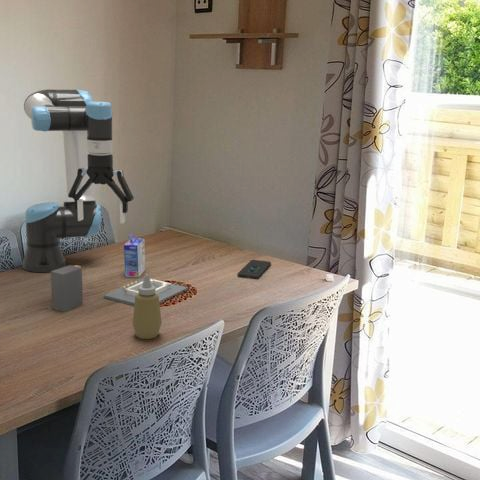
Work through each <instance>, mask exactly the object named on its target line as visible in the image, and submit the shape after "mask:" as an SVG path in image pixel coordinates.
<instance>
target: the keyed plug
mask: <svg viewBox="0 0 480 480" xmlns="http://www.w3.org/2000/svg"><path fill="white" fill-rule="evenodd" d="M82 269H83V268H82V266H81V265H76V264H75V265H72V264H68V265H66V266H65V267H62V268H59V269H56V270H53V271H51V272H50V285H51V286H50V287H51V290H50V291H51V308H52V310H56V311H60V312H63V313H65V312H67V311H70V310H72V309H75V308H78V307H80V306H82V305H83V304H84V301H83V300H84V299H83V270H82Z"/></svg>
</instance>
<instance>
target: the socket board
mask: <svg viewBox="0 0 480 480" xmlns="http://www.w3.org/2000/svg"><path fill="white" fill-rule="evenodd" d="M143 280H144V278H142V279H139V280H134V282H130V283H128V284H127V283H126V285H123V286H122V287H120V288H118V289H115V290H112V291H110V292H108V293H105V294H103V299H106V300H110V301H113V302H118V303H121V304H126V305H128V306H132V307H134V303H135V296H136V295H137V294H138V293H139V292H138V287H139V286H141V285H143ZM150 281H151V285H153V286H155V288H156V290H155V293H156V294H158V296H159V303H161V302H163V301H165V300H167V299H169V298H171V297H173V296H174V295H176V294H178V293H181V292H183V291H185V292H187V291H189V287H187V286H183V285H178V284H175V283H170V282H167V281H163V280H158V279H154V278H150ZM186 290H187V291H186ZM183 293H184V292H183ZM181 294H182V293H181ZM173 298H174V297H173ZM171 299H172V298H171ZM169 300H170V299H169ZM167 301H168V300H167ZM165 302H166V301H165ZM163 303H164V302H163ZM161 304H162V303H161Z"/></svg>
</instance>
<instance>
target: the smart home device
mask: <svg viewBox="0 0 480 480" xmlns="http://www.w3.org/2000/svg"><path fill="white" fill-rule="evenodd" d="M271 264H272V262H271V261H269V260H267V261H266V260H260V259H259V260H257V259H251V260H250V261H248V262H247V264H246V265H244V266H243V268H241V269H240V270H239V272H237V277H238V278H243V279H250V280H259V279H260V278H261V277H262V276H263V274H265V272H266V271H268V269H269V268H271Z"/></svg>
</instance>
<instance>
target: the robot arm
mask: <svg viewBox="0 0 480 480" xmlns="http://www.w3.org/2000/svg"><path fill="white" fill-rule="evenodd" d="M23 110H24V112H25V114H26V116H27V117H28V118H29V119H30V120H31V126H32V129H33V130H34V131H37V132H55V131H57V132H60V131H61V132H62V134H63V149H64V151H63V152H64V165H65V177H66V178H65V180H66V181H65V182H66V194H67V195H66V198H65V199H64V200H63V206H60V205H59V204H58V203H57V202H55V201H53V202H49V201H48V202H41V203H36V204H32V205H31V206H29V207H28V208H26V210H25V219H24V222H25V229H26V230H25V233H26V236H25V237H26V250H25V254H24V258H23V260H22V269H23V270H25V271H28V272H33V273H49V272H50V273H51V271H53V270H56V269H59V268H62V267H65V266H67V265H66V257H65V256H64V254H63V250H62V248H61V240H60V239H69V238H71V239H72V238H87V237H92V236H93V237H94V236H96V235H98V234H99V231H100V228H101V222H102V208H101V205H100V204H97V203H96V199H95V198H94V197H93V196H92V189H91V186H92V184H94V185H99V184H100V185H107V186H109V188H110V189H111V190H112V192H114V194H115V195H116V197H118V199H119V200H120V201H121V202H119V225H121V224H122V225H123V224H124V223H126V214H127V213H128V211H129V207H128V205H129V203H130V202H131V201H133V200H134V198H135V197H134V195H133V193H132V191H131V189H130V187H129V185H128V183H127V181H126V179H125V177H124V170H122V169H119V170H114V167H113V166H114V165H113V164H114V162H113V161H114V160H113V159H114V158H113V157H114V156H113V154H112V153H113V149H114V148H113V147H114V146H113V109H112V104H111V102H108V101H93V98H92V96H91V94H90V92H89V91H86V90H80V89H50V88H49V89H42V90H41V89H40V90H37V91H34V92H32V93H30V94H29V95H28V96H27V97H26V98H25V100H24V103H23ZM114 176H115V178H116V179H117V180H118V183H119V185H120V187H119V186H118V185H117V183H116V182H115V179H114V178H113V177H114Z"/></svg>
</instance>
